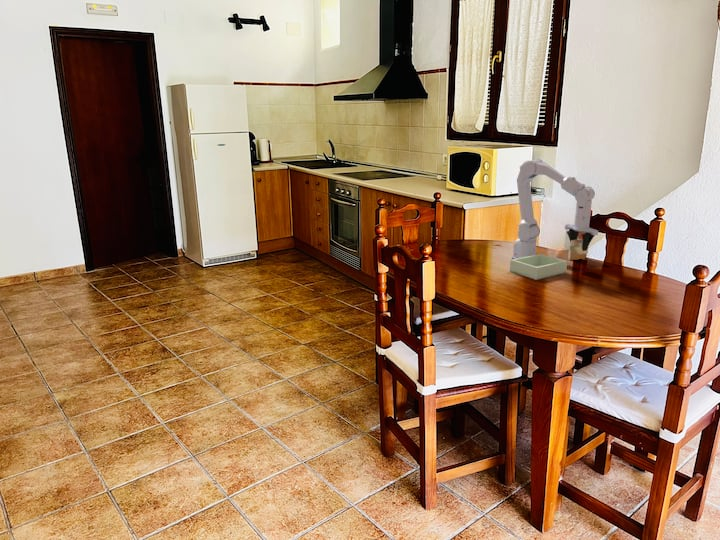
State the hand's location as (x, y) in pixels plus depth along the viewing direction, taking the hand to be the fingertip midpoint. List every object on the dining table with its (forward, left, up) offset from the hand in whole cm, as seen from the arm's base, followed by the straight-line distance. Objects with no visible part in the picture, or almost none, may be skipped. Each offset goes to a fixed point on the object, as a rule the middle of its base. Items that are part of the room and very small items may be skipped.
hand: (578, 249), depth 226 cm
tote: (-6, -17, -9) cm, 20 cm away
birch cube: (0, 0, -2) cm, 2 cm away
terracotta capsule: (-8, 0, -9) cm, 12 cm away
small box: (-12, +14, -9) cm, 20 cm away
